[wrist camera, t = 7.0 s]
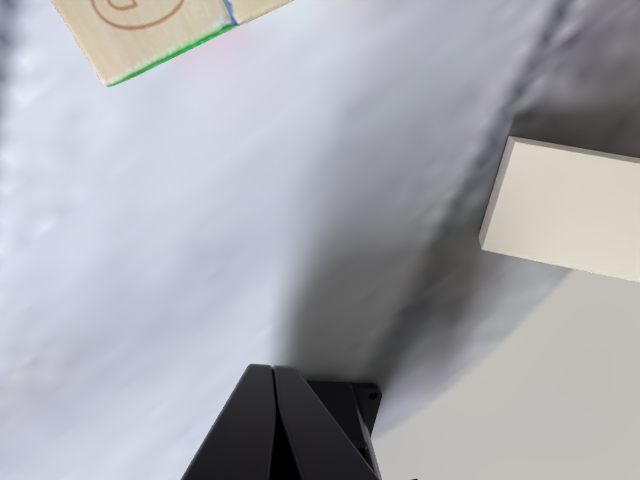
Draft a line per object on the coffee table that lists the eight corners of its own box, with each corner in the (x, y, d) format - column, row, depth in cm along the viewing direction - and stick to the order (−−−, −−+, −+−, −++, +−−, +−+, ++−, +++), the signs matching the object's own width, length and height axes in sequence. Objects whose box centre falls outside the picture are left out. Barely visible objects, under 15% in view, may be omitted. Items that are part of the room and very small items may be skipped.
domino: (478, 237, 23) (651, 272, 22) (481, 249, 21) (667, 288, 20) (508, 135, 21) (701, 169, 20) (515, 141, 19) (723, 178, 18)
